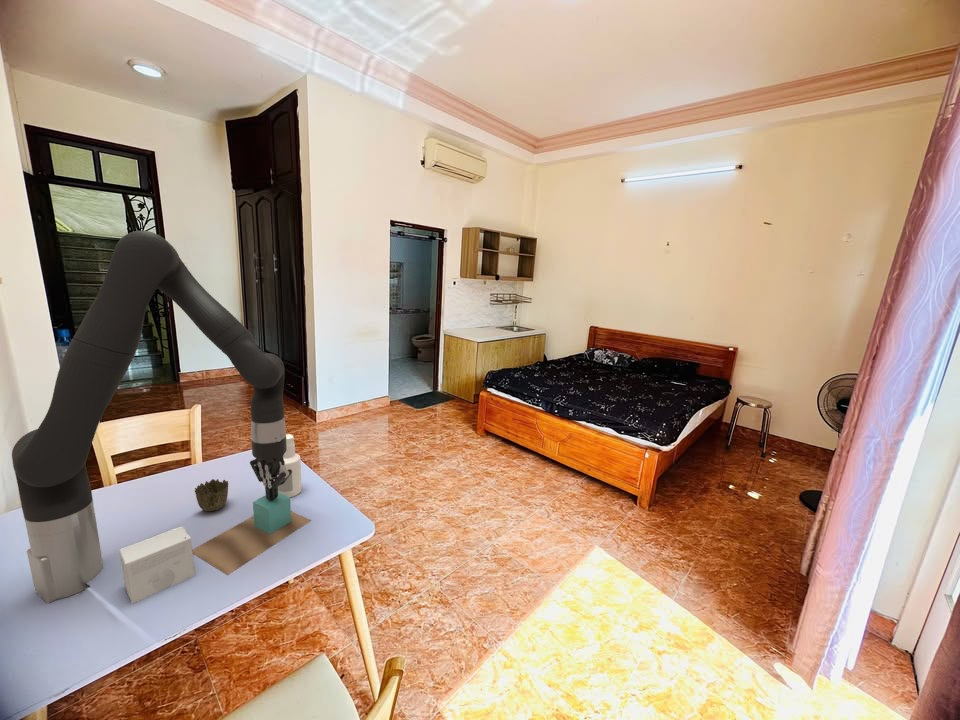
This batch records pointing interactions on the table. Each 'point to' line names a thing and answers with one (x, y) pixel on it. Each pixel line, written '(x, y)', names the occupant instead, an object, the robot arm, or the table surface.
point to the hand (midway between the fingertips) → (272, 498)
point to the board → (243, 543)
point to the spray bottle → (293, 463)
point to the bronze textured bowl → (212, 494)
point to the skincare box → (157, 563)
